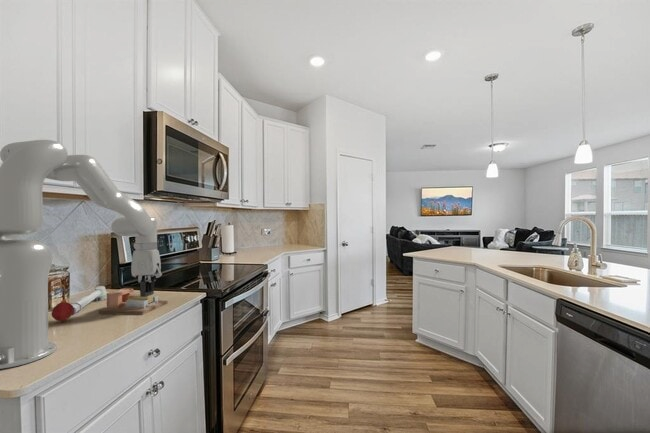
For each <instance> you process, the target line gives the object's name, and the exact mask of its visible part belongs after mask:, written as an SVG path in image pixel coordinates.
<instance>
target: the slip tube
mask: <svg viewBox="0 0 650 433" xmlns="http://www.w3.org/2000/svg"><path fill="white" fill-rule="evenodd" d="M147 283H148V279H146V280H145V281H141V282H140V283H139V293H134V294H132V295H129V296H128V300H130V299H137V300H148V303H150V302H153V296H154V294H155V290H154V291H152V292H147Z"/></svg>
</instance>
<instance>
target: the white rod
mask: <svg viewBox="0 0 650 433" xmlns="http://www.w3.org/2000/svg"><path fill="white" fill-rule="evenodd" d="M107 293H109V291H107V290H106V286H105V285H100V286H97V287H95V289H94V291H92V292H90V293H88V294H86V295H84V296H83V297H81V298H79V299H77V300H75V301H74V302H73V301H72V302H70V304H71V305H72V306H73V307H74V312H73V314H72V315H71V316H74V315H76V313H77V314H78V313H79V312H80V311H82V309H84V307H86V306H87V305H89V304H90V303H91V302H93V301H94V302H100V301H101V302H102V301H104V300H107Z"/></svg>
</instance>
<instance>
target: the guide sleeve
mask: <svg viewBox="0 0 650 433" xmlns="http://www.w3.org/2000/svg"><path fill="white" fill-rule="evenodd" d="M158 300H159V296H158V295H153V302H150V303H148V300H137V299H130V300H127V301H126V308H134V309H145V308H147V307H149V306H152V305H154V304H156V303H158Z"/></svg>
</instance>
